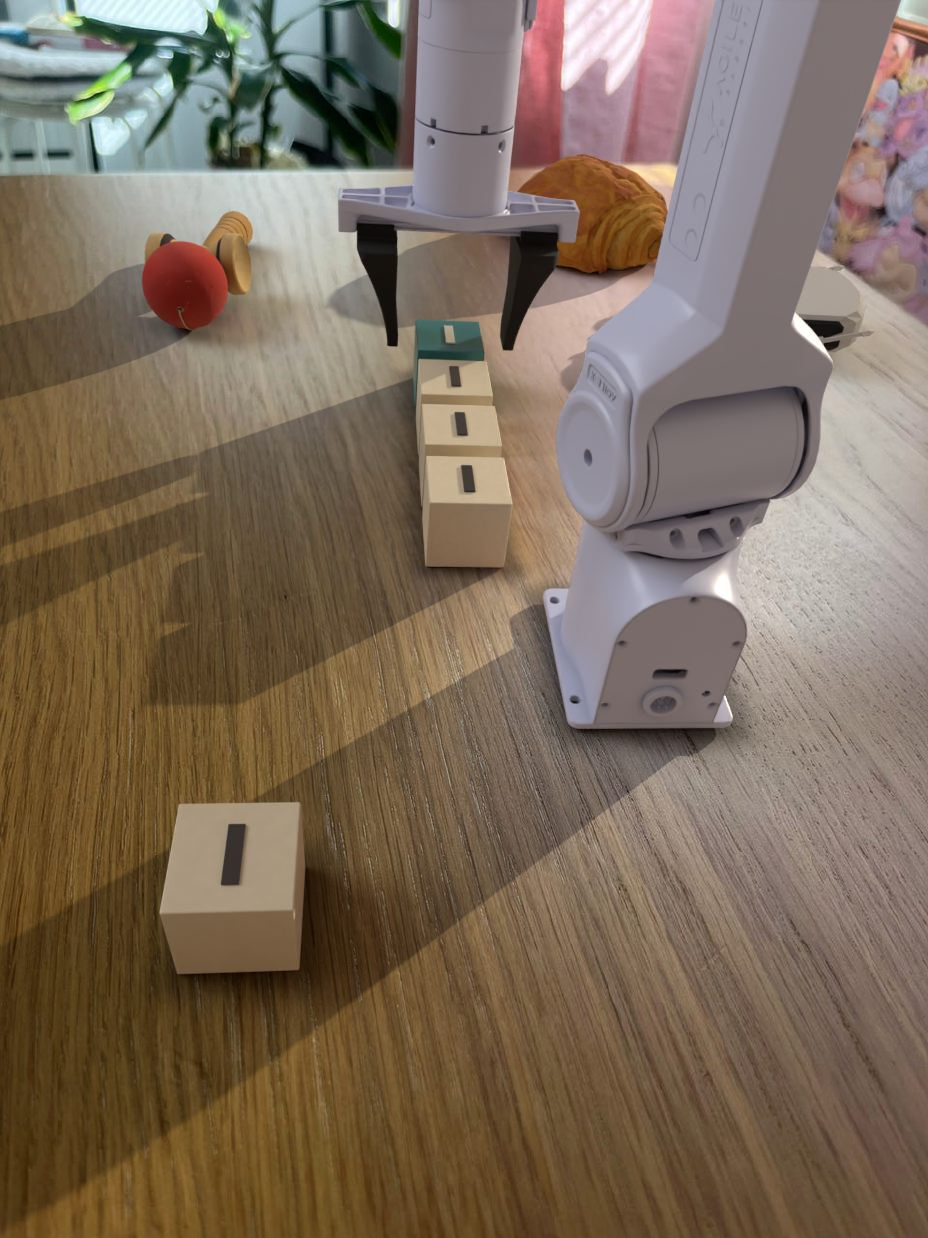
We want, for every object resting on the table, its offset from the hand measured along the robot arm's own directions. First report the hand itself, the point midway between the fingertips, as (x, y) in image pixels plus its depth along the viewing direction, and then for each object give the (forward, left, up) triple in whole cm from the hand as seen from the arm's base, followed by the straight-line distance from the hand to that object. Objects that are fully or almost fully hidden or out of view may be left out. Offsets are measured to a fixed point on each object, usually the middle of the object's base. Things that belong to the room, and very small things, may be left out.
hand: (449, 341), depth 62 cm
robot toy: (+11, -26, -4) cm, 29 cm away
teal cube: (0, 0, -4) cm, 4 cm away
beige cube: (-16, 0, -4) cm, 17 cm away
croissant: (+28, -14, -4) cm, 32 cm away
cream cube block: (-5, 0, -4) cm, 7 cm away
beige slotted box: (-39, +10, -4) cm, 41 cm away
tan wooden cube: (-11, 0, -4) cm, 12 cm away
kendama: (+15, +18, -4) cm, 24 cm away
